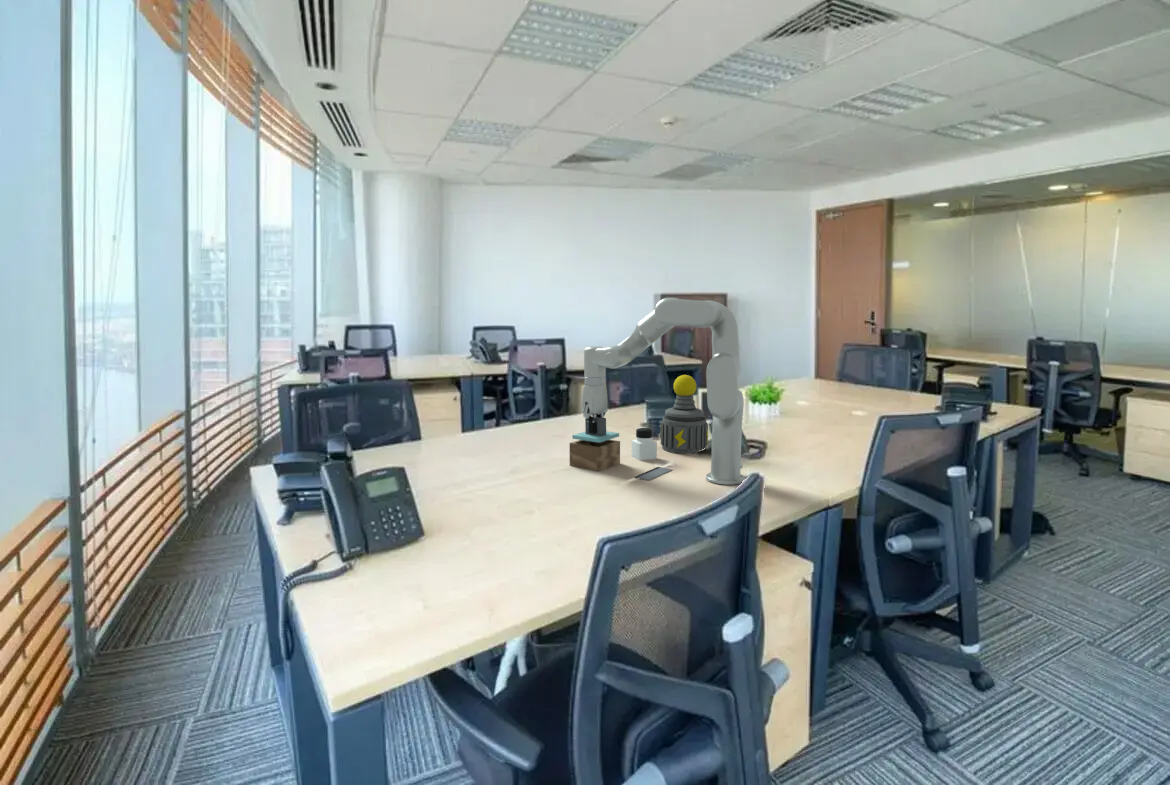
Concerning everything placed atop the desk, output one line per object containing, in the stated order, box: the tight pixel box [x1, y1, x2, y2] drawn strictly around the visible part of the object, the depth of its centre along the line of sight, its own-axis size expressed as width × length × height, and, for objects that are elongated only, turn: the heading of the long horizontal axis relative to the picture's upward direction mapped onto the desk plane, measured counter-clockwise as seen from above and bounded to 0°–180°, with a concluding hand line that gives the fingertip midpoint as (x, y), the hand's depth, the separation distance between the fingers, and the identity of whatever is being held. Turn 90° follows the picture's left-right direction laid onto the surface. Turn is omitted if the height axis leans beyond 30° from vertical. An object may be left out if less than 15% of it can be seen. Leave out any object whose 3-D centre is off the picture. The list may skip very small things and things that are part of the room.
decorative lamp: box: [659, 374, 709, 454], centre depth 248 cm, size 19×19×30 cm
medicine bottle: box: [631, 426, 658, 461], centre depth 233 cm, size 7×7×12 cm
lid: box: [572, 415, 620, 443], centre depth 222 cm, size 12×12×7 cm
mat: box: [634, 466, 673, 481], centre depth 217 cm, size 16×16×1 cm
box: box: [569, 439, 621, 472], centre depth 224 cm, size 13×13×9 cm
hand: (595, 431), depth 222 cm, fingers closed on lid, 3 cm apart
